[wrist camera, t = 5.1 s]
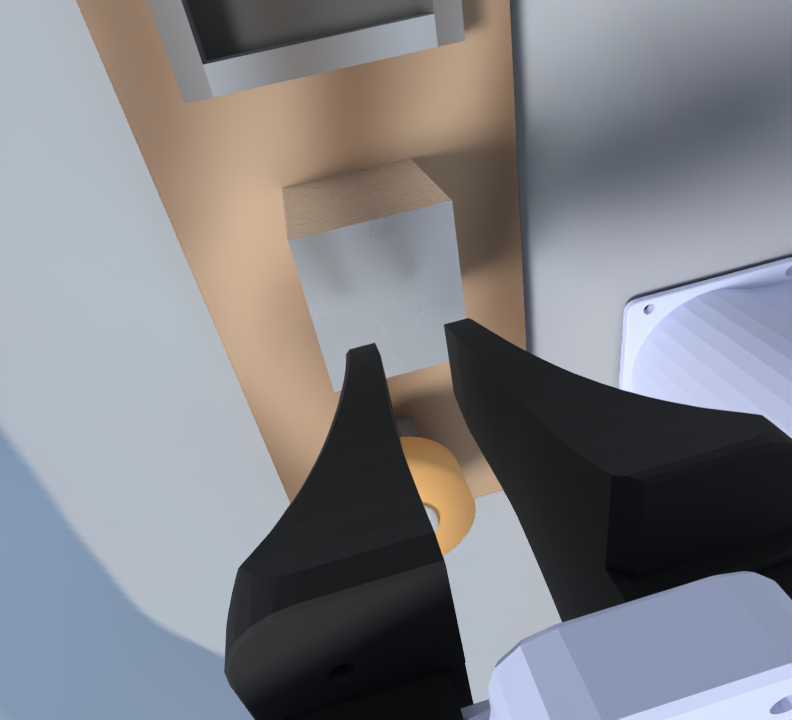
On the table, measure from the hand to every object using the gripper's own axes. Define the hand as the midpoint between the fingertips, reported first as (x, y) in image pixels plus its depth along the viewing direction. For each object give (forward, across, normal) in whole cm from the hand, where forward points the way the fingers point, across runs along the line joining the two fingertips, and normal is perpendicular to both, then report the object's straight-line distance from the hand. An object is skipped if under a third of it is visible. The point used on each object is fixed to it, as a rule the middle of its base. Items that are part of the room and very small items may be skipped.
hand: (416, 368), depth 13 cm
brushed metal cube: (+8, 0, 0) cm, 8 cm away
